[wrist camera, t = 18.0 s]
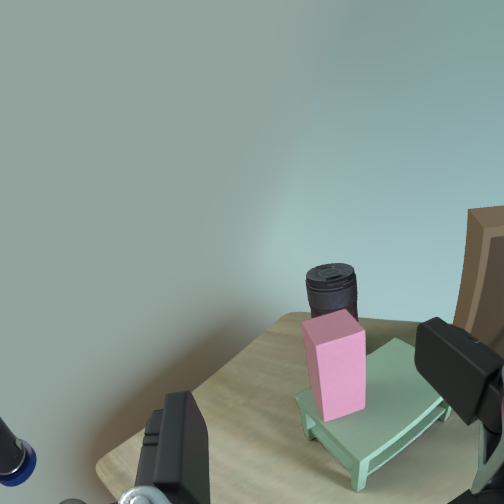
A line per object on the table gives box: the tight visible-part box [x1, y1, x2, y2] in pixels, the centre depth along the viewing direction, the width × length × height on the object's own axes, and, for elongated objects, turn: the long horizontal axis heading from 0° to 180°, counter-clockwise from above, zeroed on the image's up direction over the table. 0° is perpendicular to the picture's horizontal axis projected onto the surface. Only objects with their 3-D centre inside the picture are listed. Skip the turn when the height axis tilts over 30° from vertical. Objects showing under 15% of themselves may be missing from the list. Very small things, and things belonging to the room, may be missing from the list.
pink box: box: [301, 309, 366, 422], centre depth 26 cm, size 4×4×10 cm
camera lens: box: [306, 263, 358, 322], centre depth 47 cm, size 8×8×15 cm
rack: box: [295, 337, 452, 492], centre depth 28 cm, size 16×12×8 cm
